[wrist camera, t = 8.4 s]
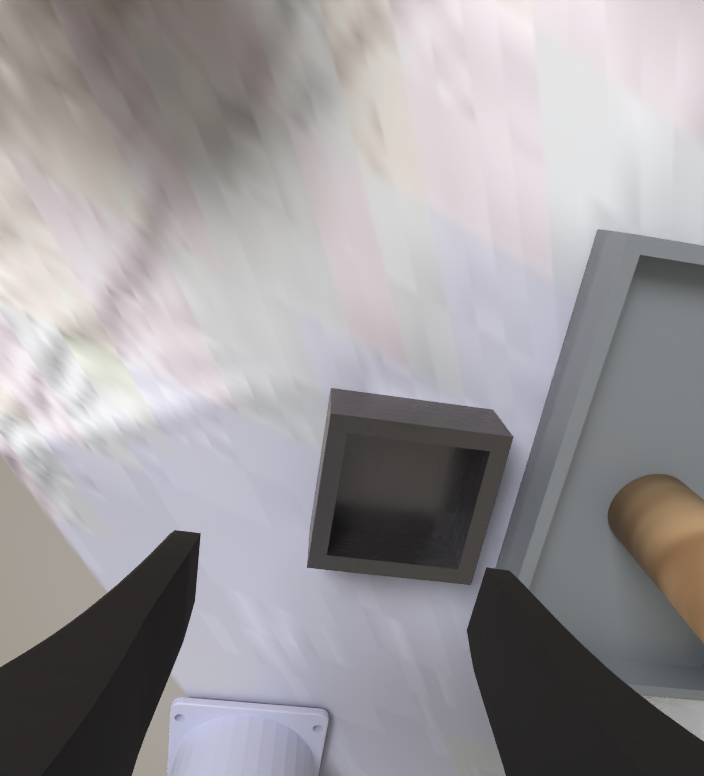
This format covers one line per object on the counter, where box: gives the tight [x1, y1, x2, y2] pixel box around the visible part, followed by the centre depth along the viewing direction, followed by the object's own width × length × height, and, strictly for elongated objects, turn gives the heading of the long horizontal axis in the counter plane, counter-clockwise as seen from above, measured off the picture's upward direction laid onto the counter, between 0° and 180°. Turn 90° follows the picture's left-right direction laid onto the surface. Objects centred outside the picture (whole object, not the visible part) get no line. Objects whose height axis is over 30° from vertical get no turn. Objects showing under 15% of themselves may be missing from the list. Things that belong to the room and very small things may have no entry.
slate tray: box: [496, 230, 704, 701], centre depth 22 cm, size 20×12×2 cm, turn 171°
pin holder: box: [307, 388, 513, 585], centre depth 21 cm, size 7×7×3 cm
